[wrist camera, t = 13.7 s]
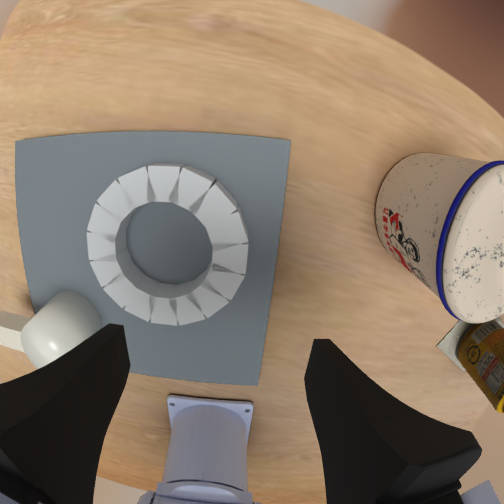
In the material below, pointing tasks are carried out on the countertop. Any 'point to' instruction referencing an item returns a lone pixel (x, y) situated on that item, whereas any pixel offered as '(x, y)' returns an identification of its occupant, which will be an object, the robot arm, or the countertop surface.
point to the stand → (159, 241)
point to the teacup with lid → (448, 229)
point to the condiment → (479, 355)
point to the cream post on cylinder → (51, 328)
